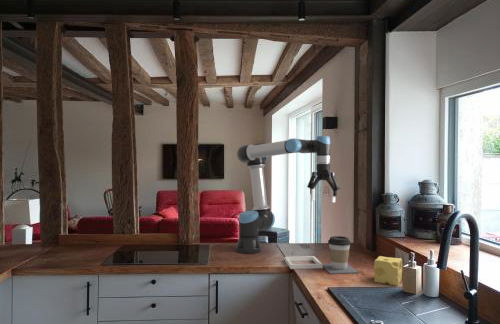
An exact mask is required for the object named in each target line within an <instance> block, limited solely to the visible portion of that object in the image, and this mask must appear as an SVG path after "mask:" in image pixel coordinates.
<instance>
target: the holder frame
mask: <svg viewBox="0 0 500 324" xmlns="http://www.w3.org/2000/svg"><path fill="white" fill-rule="evenodd" d="M284 261H285V264H287V266H288V267H289V269H290V270H299V269H300V270H303V269H324V268H323V264H324V263H322V262H321V261H320V260H319V259H318V258H317V257H316V256H315V255H309V256H307V255H304V256H284ZM301 261H302V262H303V261H307V262H308V261H309V262H310V261H311V262H312V261H313V262H314V263H299V264H298V263H292V262H301Z"/></svg>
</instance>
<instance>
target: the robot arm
mask: <svg viewBox="0 0 500 324" xmlns="http://www.w3.org/2000/svg"><path fill="white" fill-rule="evenodd" d="M330 137H331V136H328V135H317V136H316V139H299V138H289V139H287V140H282V141H281V140H280V141H274V142H269V143H263V144H262V143H261V144H243V145H241V146H239V148H238V150H237V152H236V156H237V159H238V160H239V162H241V163H243V164H246V165H247V166H246V167H247V168H248V169H249V171H250V181H251V182H250V183H251V192H252V199H253V208H252V209H251V210H245V211H242V212H240V213H239V215H238V239H237V242H236V243H237V244H236V246H235V252H237V253H241V254H257V253H260V252H261V251H262V246H261V243H260V240H259V232H261V231H266V230H269V229H271V228H272V227H273V226H274V225H275V222H276V219H275V218H276V216H275V214H274V213H273V212H272V210H271V207H270V206H269V205H268V198H267V190H266V181H265V179H266V178H265V171H264V167H265V166H266V162H267V160H268V157H272V156H273V157H274V156H280V155H288V154H296V153H298V154H299V153H300V154H316V163H317V164H316V166H315V167H316V171H312V172H311V177H310V179H309V181H308V184H307V186H306V187H307V188H308V189H309V190H310V191H309V192H310V201H316V189H315V188H316V187H317V185H318V183H319V182H320V181H325V182H326V183H328V185H329V186H330V188H331V199H330V200H331V201H330V202H331V203H336V197H337V196H338V195H337V194H338V190H340V189H341V187H340V185H339V184H340V183H339V182H338V179H337V178H336V172H332V171H331V164H330V163H331V138H330Z"/></svg>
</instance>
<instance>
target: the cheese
mask: <svg viewBox="0 0 500 324" xmlns="http://www.w3.org/2000/svg"><path fill="white" fill-rule="evenodd" d="M373 265H374V267H373V270H374V271H373V275H374V277H373V279H374V282H375V283H379V284H389V285H391V286H396V287H398V286H399V284H400V282H402V279H403V259H402V258H401V257H400V258H399V257H390V256H389V257H387V256H382V255H379V256H378V257H377V258H376V259H375V260H374V261H373Z"/></svg>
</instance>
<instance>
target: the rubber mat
mask: <svg viewBox="0 0 500 324" xmlns="http://www.w3.org/2000/svg"><path fill="white" fill-rule="evenodd" d="M322 264H323V268H322V269H323V270H325V271H326V272H327V273H328V274H329V275H347V274H352V275H353V274H355V275H356V274H359V271H358V270H356V269H355V268H354V267H352V266H351V265H350V264H349V263H347V268H346V269H345V270H336V269H333V268H332V265H331V263H322Z"/></svg>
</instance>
